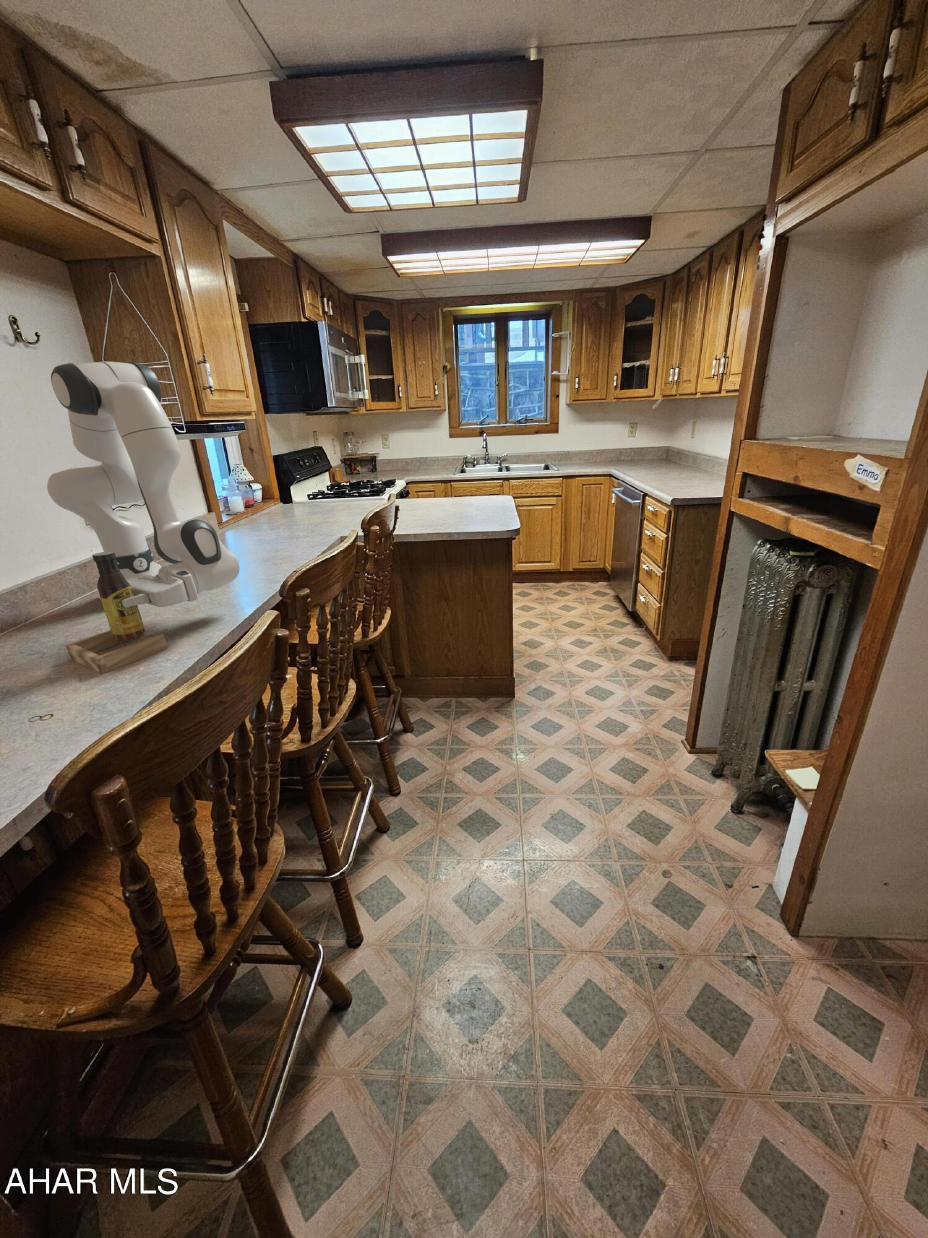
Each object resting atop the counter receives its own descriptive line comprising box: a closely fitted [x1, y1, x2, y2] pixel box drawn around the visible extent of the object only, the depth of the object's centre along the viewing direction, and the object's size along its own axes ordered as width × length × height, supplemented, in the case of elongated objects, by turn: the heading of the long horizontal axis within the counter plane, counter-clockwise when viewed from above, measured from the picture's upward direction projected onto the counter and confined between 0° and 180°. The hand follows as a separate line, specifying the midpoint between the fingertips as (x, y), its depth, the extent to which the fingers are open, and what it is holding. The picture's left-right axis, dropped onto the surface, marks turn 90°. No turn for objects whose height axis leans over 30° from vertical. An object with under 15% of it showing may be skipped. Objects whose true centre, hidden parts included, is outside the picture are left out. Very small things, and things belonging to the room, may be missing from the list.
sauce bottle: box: [92, 551, 146, 642], centre depth 109 cm, size 6×6×20 cm
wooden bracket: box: [65, 629, 169, 675], centre depth 110 cm, size 16×14×4 cm
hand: (114, 601), depth 108 cm, fingers closed on sauce bottle, 6 cm apart
